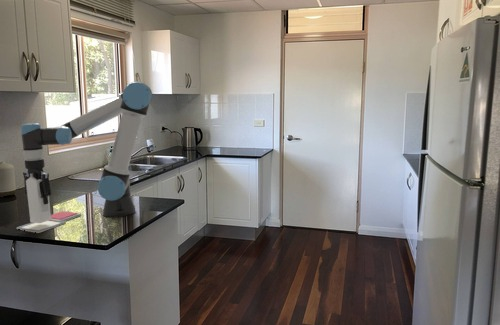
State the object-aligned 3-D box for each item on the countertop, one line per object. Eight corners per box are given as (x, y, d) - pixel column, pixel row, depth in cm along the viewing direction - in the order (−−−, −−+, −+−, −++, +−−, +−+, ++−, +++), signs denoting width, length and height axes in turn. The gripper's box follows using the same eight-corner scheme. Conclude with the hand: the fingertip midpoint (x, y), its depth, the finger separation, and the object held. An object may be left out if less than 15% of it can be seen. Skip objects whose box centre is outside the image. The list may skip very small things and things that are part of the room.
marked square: (65, 223, 186) (65, 221, 186) (38, 233, 173) (38, 231, 173) (44, 220, 192) (44, 218, 192) (16, 229, 179) (16, 227, 179)
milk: (30, 222, 180) (24, 173, 177) (41, 218, 186) (35, 170, 182) (41, 223, 178) (35, 173, 175) (51, 219, 184) (46, 171, 181)
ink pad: (81, 215, 197) (80, 212, 197) (60, 223, 187) (59, 219, 186) (63, 213, 202) (63, 210, 202) (42, 220, 192) (41, 217, 191)
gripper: (57, 158, 177) (62, 210, 181) (27, 157, 185) (32, 206, 189) (41, 161, 170) (47, 215, 174) (11, 159, 178) (17, 210, 182)
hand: (39, 210), depth 181 cm, fingers closed on milk, 6 cm apart
